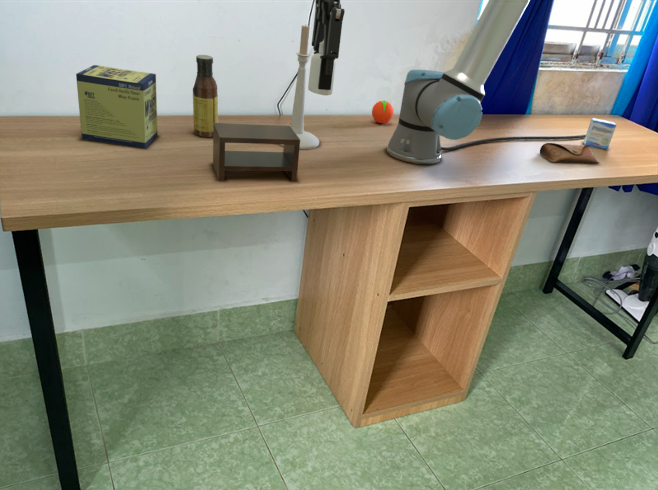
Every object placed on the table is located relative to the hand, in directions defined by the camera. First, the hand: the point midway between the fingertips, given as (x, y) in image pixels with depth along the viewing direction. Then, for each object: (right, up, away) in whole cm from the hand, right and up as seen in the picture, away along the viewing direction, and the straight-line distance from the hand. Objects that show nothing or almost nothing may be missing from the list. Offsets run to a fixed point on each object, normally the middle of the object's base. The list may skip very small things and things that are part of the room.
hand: (320, 85), depth 139 cm
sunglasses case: (+74, -5, +54) cm, 92 cm away
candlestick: (-9, -5, +31) cm, 32 cm away
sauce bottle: (-32, -5, +24) cm, 41 cm away
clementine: (+15, +8, +58) cm, 60 cm away
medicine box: (+89, +4, +72) cm, 115 cm away
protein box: (-50, -9, +13) cm, 53 cm away
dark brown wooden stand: (-16, -19, +6) cm, 25 cm away
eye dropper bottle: (0, -2, +1) cm, 2 cm away
